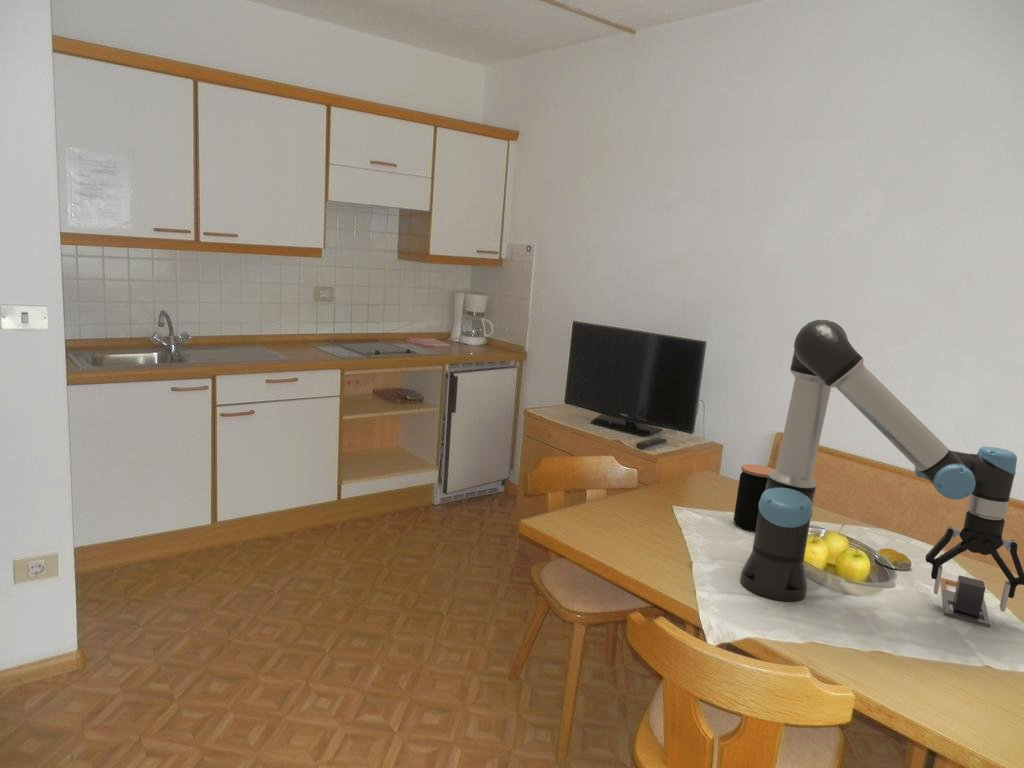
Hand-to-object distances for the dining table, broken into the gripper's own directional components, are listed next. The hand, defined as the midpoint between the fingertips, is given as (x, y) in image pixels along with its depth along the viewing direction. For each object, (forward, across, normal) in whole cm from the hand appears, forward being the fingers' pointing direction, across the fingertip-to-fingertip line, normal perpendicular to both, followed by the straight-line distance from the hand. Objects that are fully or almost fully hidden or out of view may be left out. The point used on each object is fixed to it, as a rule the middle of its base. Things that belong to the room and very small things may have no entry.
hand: (968, 600), depth 167 cm
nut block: (+3, 0, 0) cm, 3 cm away
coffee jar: (+3, +54, -25) cm, 60 cm away
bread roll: (+4, +16, -23) cm, 28 cm away
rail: (+3, 0, -7) cm, 8 cm away
